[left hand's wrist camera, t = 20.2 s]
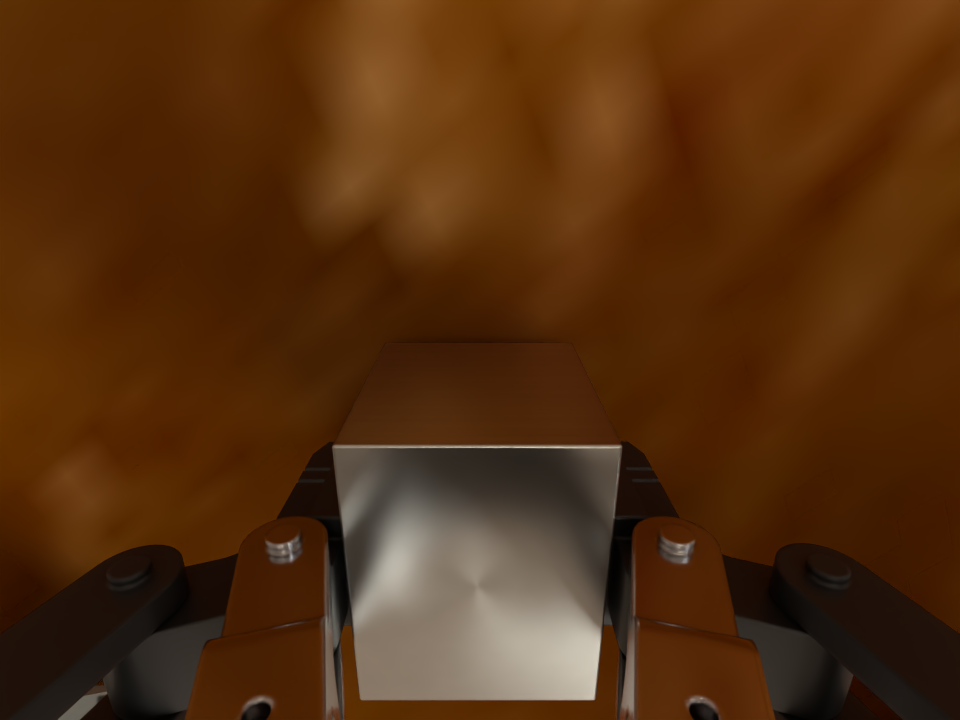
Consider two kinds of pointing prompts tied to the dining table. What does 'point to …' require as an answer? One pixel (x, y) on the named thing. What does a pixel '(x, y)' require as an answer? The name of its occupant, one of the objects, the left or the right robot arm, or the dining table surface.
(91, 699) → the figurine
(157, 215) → the dining table surface
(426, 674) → the block
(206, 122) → the dining table surface
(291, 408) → the dining table surface
